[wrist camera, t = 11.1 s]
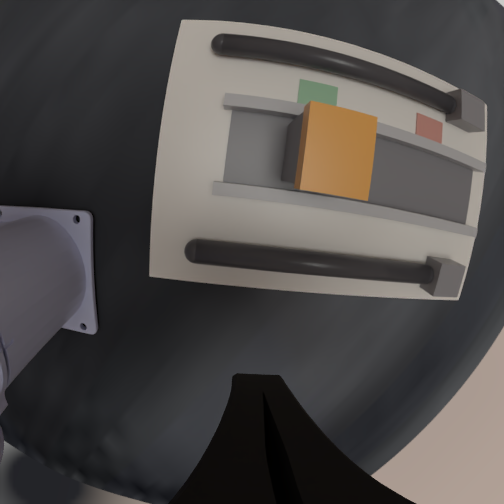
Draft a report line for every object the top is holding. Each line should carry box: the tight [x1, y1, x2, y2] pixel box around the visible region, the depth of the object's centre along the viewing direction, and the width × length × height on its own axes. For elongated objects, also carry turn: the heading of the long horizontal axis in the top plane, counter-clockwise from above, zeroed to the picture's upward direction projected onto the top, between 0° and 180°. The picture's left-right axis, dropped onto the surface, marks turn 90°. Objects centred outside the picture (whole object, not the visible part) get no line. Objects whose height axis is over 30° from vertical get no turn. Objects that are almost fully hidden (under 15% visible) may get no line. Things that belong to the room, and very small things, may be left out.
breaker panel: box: [149, 20, 487, 300], centre depth 14 cm, size 20×14×3 cm
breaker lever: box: [281, 101, 378, 201], centre depth 12 cm, size 3×3×4 cm
